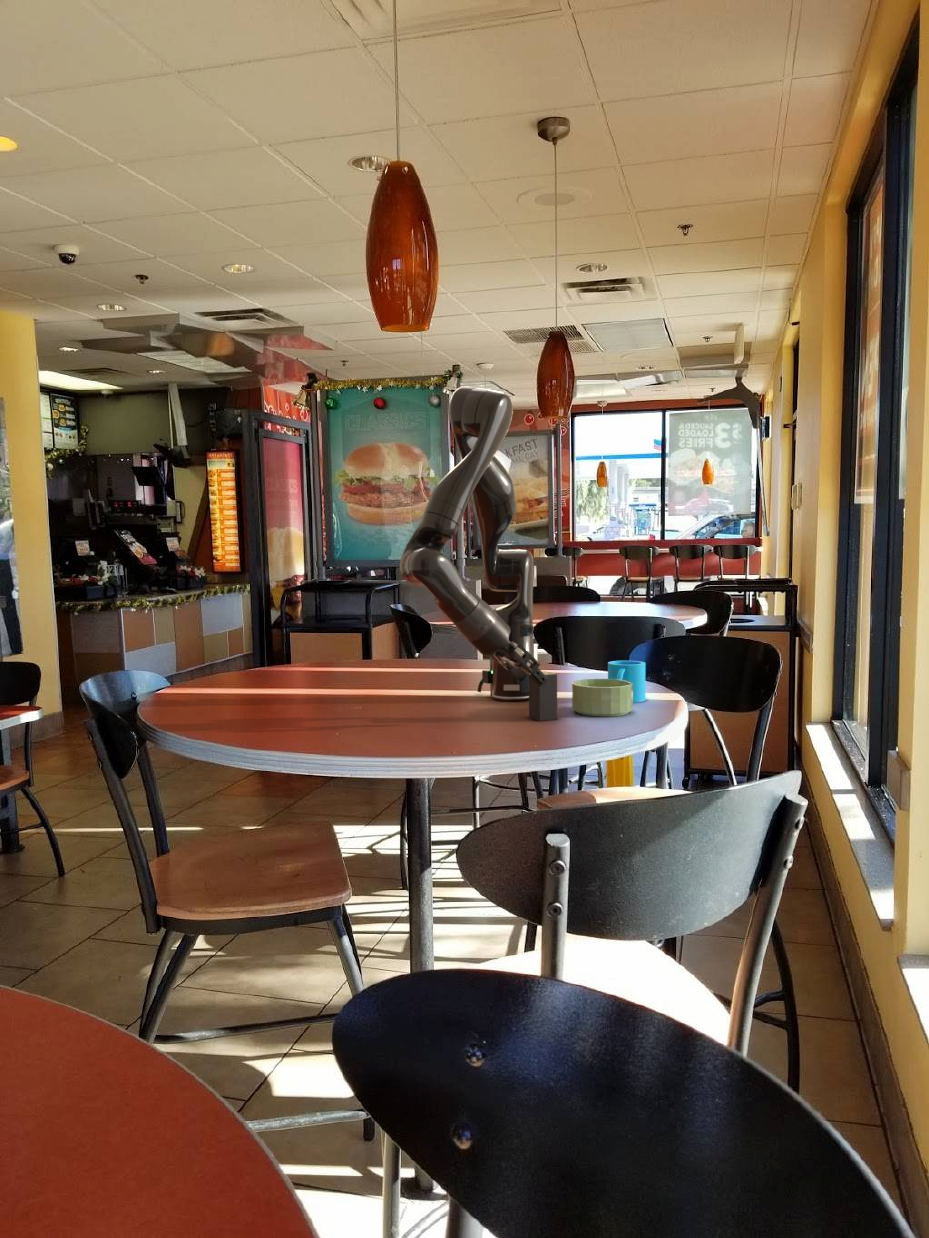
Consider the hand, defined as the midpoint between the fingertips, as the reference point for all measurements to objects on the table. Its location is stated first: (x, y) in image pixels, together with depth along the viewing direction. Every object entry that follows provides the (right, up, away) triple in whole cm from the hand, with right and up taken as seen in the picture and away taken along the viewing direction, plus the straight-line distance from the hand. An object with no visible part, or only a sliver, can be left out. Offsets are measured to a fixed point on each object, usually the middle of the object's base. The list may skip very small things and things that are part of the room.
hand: (534, 680), depth 182 cm
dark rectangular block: (+2, -8, +1) cm, 8 cm away
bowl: (+15, -7, +8) cm, 18 cm away
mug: (+21, -6, +20) cm, 30 cm away
